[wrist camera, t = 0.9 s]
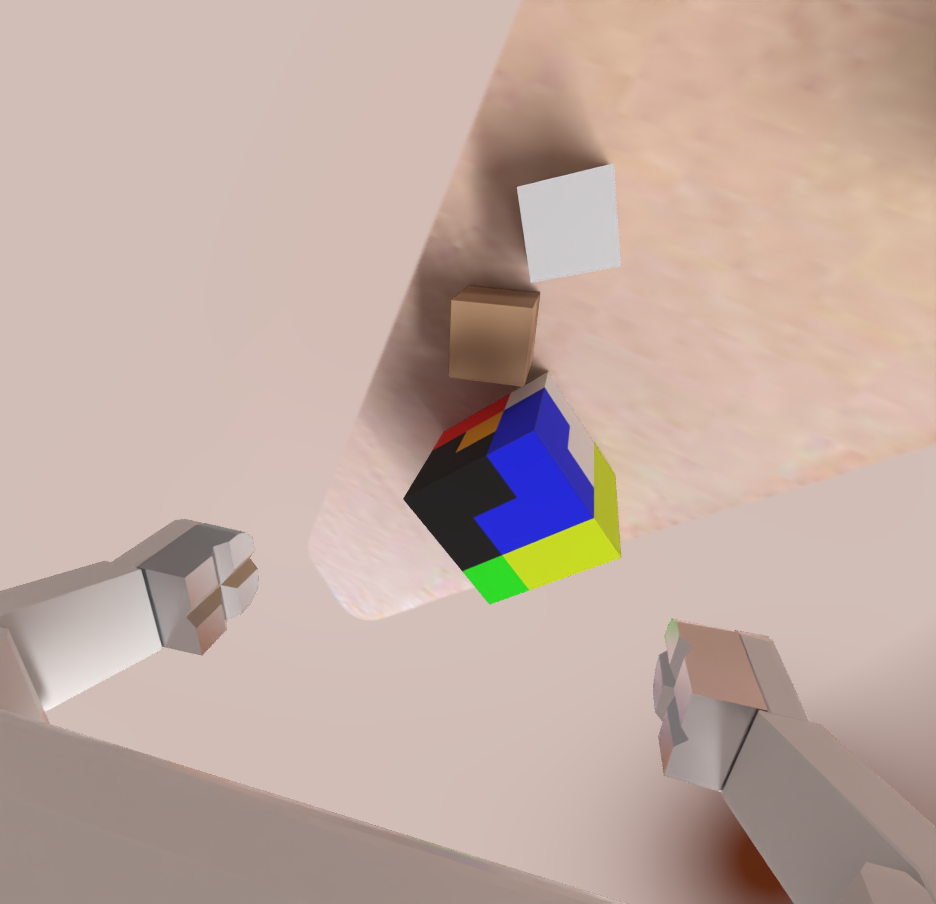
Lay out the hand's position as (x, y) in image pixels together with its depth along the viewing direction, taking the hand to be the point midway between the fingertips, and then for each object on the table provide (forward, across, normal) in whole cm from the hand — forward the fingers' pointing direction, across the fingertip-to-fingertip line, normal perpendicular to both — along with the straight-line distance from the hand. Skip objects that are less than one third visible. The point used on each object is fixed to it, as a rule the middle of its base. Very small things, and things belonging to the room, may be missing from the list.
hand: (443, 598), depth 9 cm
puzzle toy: (+29, +1, +9) cm, 31 cm away
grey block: (+27, 0, -8) cm, 28 cm away
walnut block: (+28, +4, 0) cm, 28 cm away
